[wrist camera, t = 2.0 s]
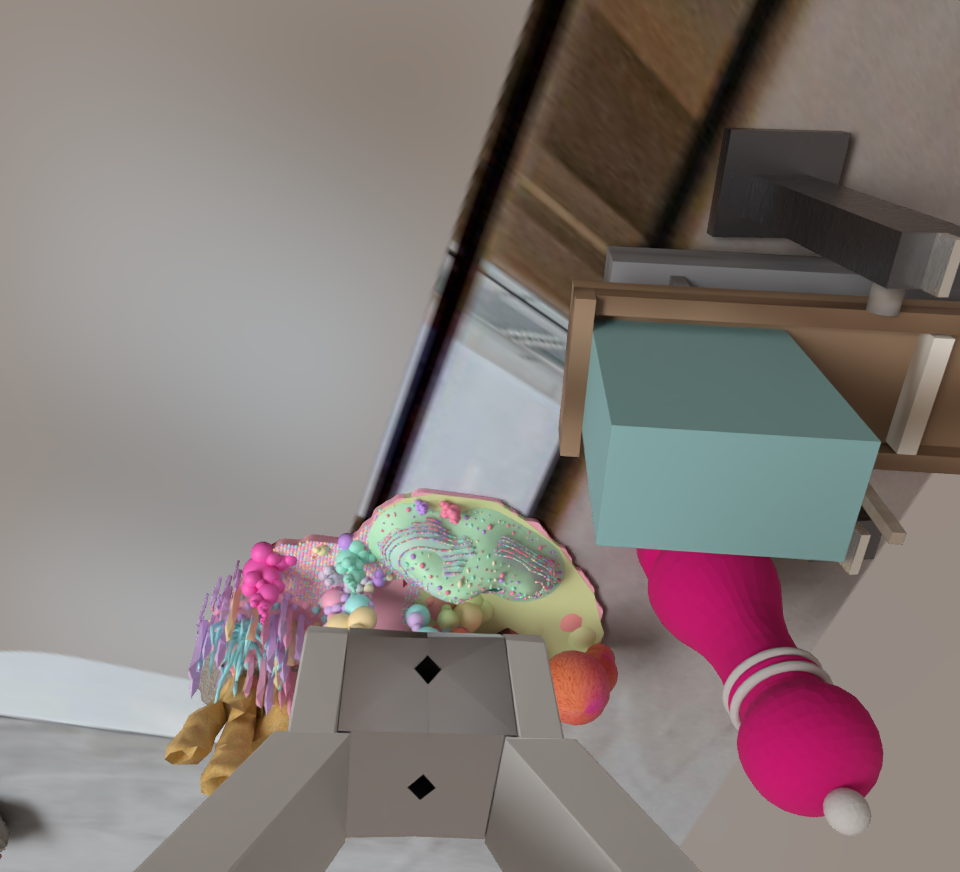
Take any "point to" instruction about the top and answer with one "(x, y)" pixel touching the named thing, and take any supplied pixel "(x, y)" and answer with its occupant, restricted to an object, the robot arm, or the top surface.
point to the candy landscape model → (388, 612)
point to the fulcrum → (829, 229)
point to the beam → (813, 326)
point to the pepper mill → (770, 685)
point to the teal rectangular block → (720, 443)
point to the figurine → (3, 835)
